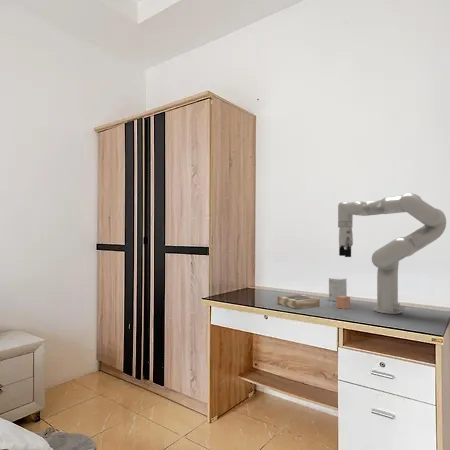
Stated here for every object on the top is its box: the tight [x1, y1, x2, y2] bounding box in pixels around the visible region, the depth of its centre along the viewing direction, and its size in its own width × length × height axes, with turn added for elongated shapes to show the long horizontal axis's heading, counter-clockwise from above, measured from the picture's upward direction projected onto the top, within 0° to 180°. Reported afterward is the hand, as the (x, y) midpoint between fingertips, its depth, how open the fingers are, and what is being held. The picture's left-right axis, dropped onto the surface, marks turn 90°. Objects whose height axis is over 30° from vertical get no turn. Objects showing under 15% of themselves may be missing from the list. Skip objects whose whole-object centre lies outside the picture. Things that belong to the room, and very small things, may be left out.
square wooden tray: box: [277, 293, 321, 310], centre depth 198 cm, size 16×16×4 cm
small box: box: [328, 277, 348, 302], centre depth 212 cm, size 8×6×13 cm
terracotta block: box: [335, 295, 351, 310], centre depth 191 cm, size 5×5×6 cm
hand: (345, 256), depth 197 cm, fingers open, 9 cm apart
